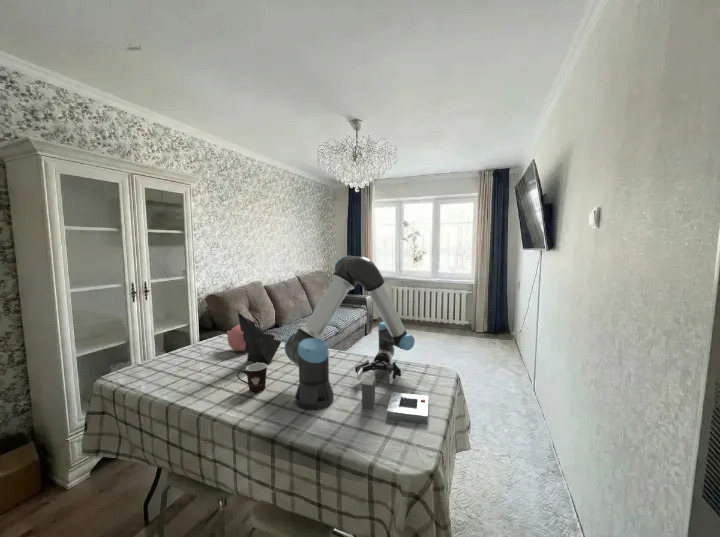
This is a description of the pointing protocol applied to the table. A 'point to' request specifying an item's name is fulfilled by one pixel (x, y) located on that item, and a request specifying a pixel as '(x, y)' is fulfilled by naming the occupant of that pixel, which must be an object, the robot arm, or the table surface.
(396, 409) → the socket block
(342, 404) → the table surface
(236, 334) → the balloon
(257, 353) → the dark angular faceted shape
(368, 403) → the plug
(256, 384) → the coffee mug
